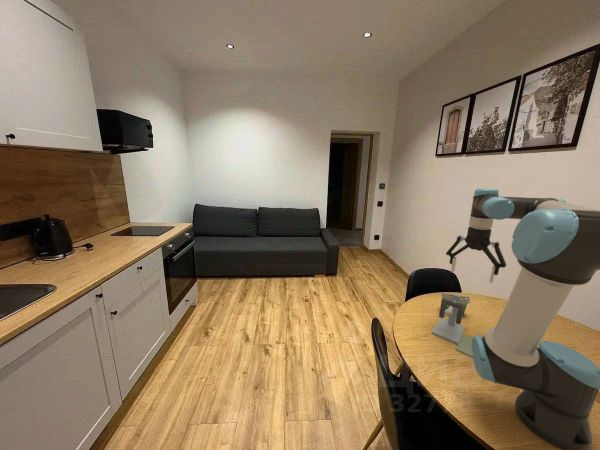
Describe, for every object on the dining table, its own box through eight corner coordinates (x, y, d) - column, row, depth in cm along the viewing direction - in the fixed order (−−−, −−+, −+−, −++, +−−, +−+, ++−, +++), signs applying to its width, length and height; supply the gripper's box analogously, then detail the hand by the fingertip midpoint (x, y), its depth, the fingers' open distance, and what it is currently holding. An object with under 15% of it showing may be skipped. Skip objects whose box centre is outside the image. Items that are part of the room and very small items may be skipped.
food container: (441, 316, 118) (444, 297, 116) (438, 309, 124) (441, 291, 121) (470, 321, 114) (474, 302, 112) (466, 313, 120) (470, 295, 118)
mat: (486, 363, 89) (487, 362, 89) (455, 350, 96) (455, 348, 96) (490, 346, 98) (491, 345, 98) (462, 335, 104) (462, 334, 104)
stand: (457, 345, 98) (463, 311, 95) (430, 334, 105) (435, 301, 101) (464, 328, 109) (470, 297, 105) (440, 319, 115) (445, 289, 112)
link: (459, 324, 101) (463, 306, 99) (438, 316, 106) (441, 299, 104) (460, 323, 102) (464, 305, 100) (439, 315, 107) (442, 298, 105)
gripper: (522, 231, 90) (510, 283, 95) (447, 221, 107) (441, 265, 112) (520, 235, 85) (508, 289, 90) (442, 223, 102) (435, 269, 107)
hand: (471, 276), depth 101 cm, fingers open, 13 cm apart
